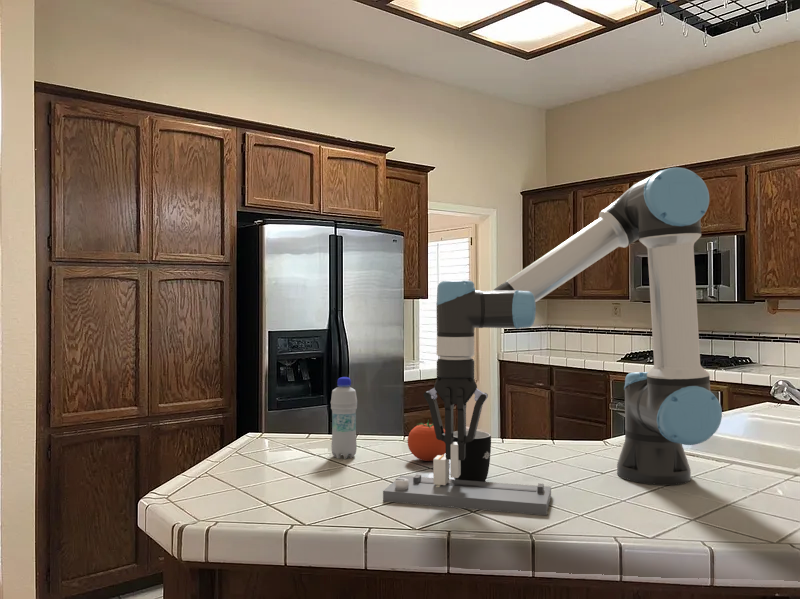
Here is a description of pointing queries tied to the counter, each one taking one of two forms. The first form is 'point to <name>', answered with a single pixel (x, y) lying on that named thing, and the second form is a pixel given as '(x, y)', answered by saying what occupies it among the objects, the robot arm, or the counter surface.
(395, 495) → the console
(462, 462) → the mug
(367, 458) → the counter surface
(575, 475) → the counter surface
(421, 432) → the tomato
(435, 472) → the fader tab
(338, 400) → the bottle
